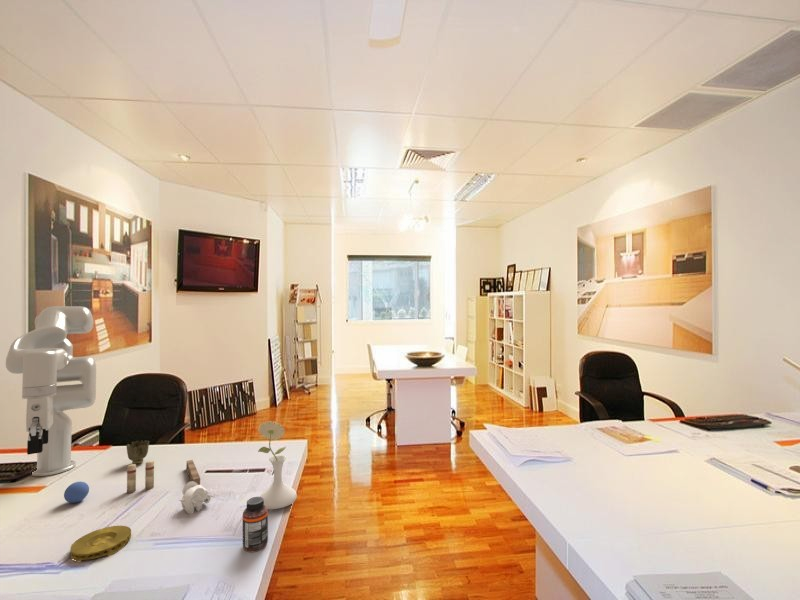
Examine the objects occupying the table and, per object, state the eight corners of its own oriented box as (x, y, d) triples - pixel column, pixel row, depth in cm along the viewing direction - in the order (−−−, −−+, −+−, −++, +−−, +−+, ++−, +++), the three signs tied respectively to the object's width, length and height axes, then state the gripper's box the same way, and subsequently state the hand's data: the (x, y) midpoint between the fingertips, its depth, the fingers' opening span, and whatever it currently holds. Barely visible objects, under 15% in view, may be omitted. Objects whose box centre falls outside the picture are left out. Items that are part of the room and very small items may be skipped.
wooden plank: (186, 468, 142) (186, 460, 142) (192, 467, 143) (192, 459, 144) (193, 488, 126) (193, 479, 126) (200, 486, 127) (200, 477, 127)
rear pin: (144, 487, 127) (145, 462, 127) (153, 485, 129) (154, 460, 129) (145, 490, 125) (145, 464, 125) (154, 488, 126) (154, 462, 127)
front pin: (126, 491, 125) (127, 465, 125) (135, 489, 126) (136, 463, 126) (126, 494, 123) (127, 467, 123) (135, 491, 124) (136, 465, 124)
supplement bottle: (246, 539, 97) (247, 494, 97) (270, 537, 97) (270, 493, 98) (238, 554, 91) (239, 506, 91) (264, 552, 91) (264, 505, 92)
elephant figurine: (217, 506, 114) (218, 482, 114) (182, 519, 107) (183, 493, 107) (208, 498, 119) (208, 475, 120) (174, 509, 112) (174, 485, 113)
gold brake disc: (61, 569, 87) (61, 559, 87) (81, 540, 98) (81, 532, 98) (124, 555, 92) (124, 546, 92) (136, 529, 103) (136, 521, 103)
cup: (137, 467, 144) (137, 446, 144) (121, 466, 145) (121, 445, 146) (153, 460, 151) (153, 440, 151) (138, 459, 153) (138, 439, 153)
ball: (65, 500, 118) (65, 481, 119) (89, 495, 122) (90, 476, 122) (62, 508, 114) (62, 488, 114) (88, 502, 117) (88, 483, 117)
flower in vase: (304, 497, 119) (304, 418, 120) (281, 516, 108) (281, 428, 109) (270, 492, 123) (270, 414, 124) (245, 509, 112) (245, 424, 113)
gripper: (51, 394, 109) (50, 454, 108) (60, 385, 123) (59, 438, 122) (15, 397, 105) (13, 460, 104) (28, 388, 119) (26, 443, 118)
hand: (38, 448), depth 113 cm, fingers open, 9 cm apart
